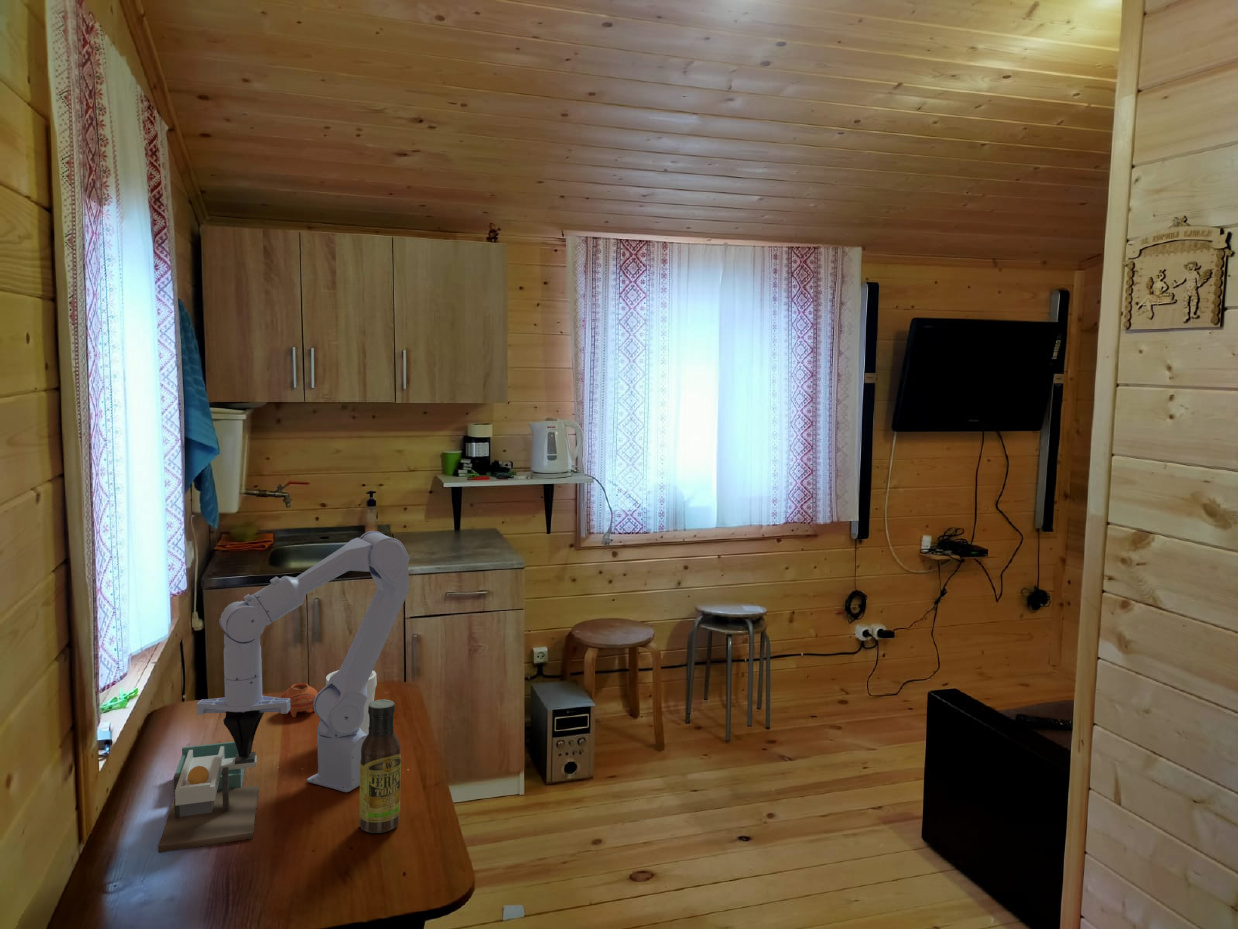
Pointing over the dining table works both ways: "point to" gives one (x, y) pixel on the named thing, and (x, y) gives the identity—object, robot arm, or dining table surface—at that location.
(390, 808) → the sauce bottle
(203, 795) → the tray
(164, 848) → the stand
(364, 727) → the foam cup
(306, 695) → the pot
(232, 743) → the teal open box
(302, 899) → the dining table surface
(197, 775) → the ball
